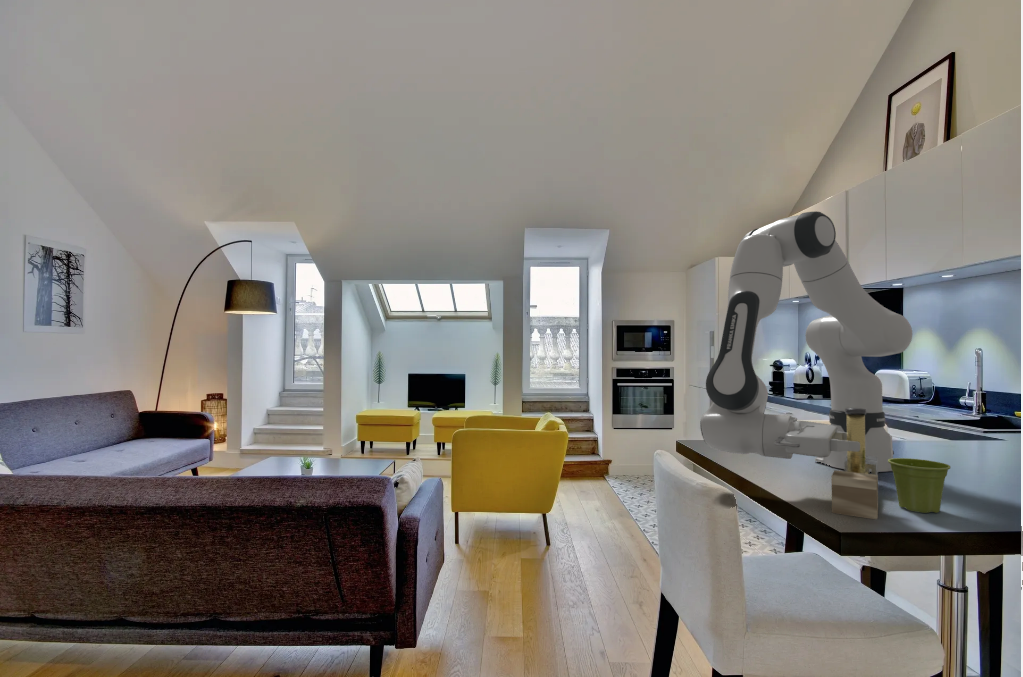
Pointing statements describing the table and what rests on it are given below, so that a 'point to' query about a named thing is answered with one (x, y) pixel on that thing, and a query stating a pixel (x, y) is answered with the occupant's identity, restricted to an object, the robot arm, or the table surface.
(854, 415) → the slip tube
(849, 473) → the socket block
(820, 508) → the table surface
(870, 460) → the sleeve
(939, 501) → the plant pot
